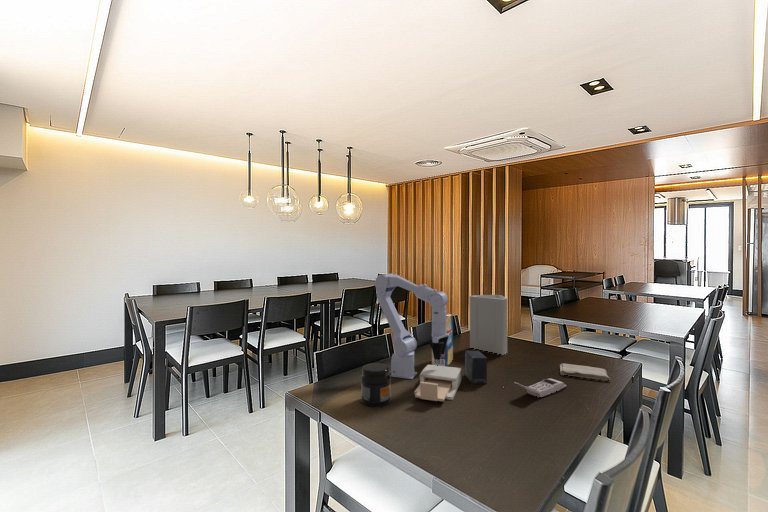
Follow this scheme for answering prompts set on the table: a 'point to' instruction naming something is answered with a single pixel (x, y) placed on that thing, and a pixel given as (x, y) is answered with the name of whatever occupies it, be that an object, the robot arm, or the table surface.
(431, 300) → the robot arm
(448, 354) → the beverage box
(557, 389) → the mobile phone
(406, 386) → the table surface
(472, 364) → the small box
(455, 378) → the ticket dispenser
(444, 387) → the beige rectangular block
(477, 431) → the table surface
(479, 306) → the grey tall box
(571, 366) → the washcloth
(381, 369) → the supplement container
